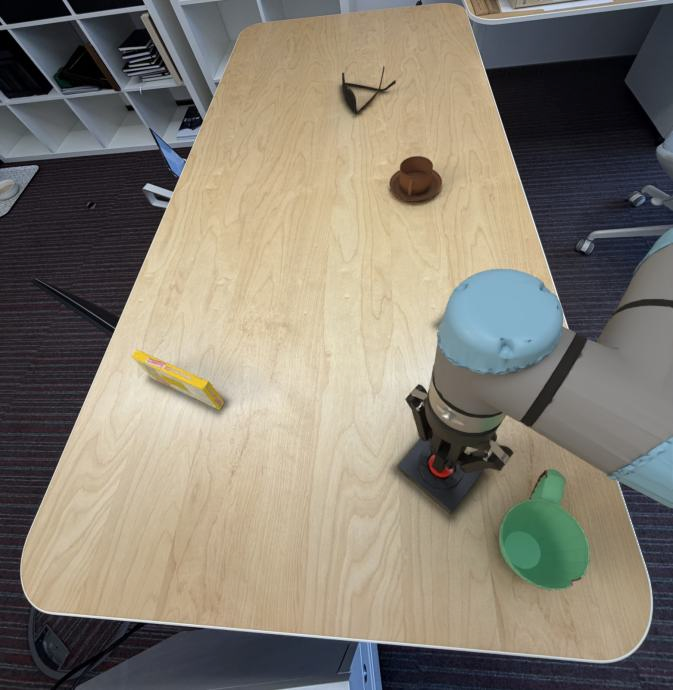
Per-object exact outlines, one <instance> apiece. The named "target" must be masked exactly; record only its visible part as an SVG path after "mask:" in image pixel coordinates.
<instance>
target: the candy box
mask: <svg viewBox="0 0 673 690" xmlns="http://www.w3.org/2000/svg"><path fill="white" fill-rule="evenodd" d="M130 358H131V359H132V360H134V362H135V363H136V364H137V365H139V367H140V368H142V370H143V371H144V372H146V374H148V376H149V377H150V378H151V379H152V380H155V381H157V382H159V383H161V384H163V385H165V386H167V387H170V388H171V389H174V390H175V391H177V392H180V393H182V394H183V395H186V396H188V397H190V398H193V399H195V400H197V401H199V402H201V403H203V404H205V405H208V406H210V407H212V408H214V409H216V410H219V411H220V410H221V409H222V407H223V406H224V405H225V400H224V399H223V397H222V396H221V395H220V394H219V392H218V391H217V389H216V388H215V387H214V386H213V384H212V383H211V382H210V381H209V380H207V379H204V378H202V377H200V376H198V375H195V374H194V373H191V372H188V371H187V370H184V369H182V368H179V367H178V366H176V365H173V364H170V363H168V362H166V361H164V360H161V359H159V358H157V357H155V356H152V355H150V354H148V353H146V352H144V351H141V350H139V349H136V350H135V351H134V352H133V353H132V354H131V355H130Z"/></svg>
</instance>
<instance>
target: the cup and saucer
mask: <svg viewBox="0 0 673 690" xmlns="http://www.w3.org/2000/svg"><path fill="white" fill-rule="evenodd" d="M442 184H443V180H442V177H441V175H440V174H439V173H438V171H436V170H434V164H433V161H431V160H430V159H429V158H428V157H425V156H421V155H414V156H409V157H406V158H405V159H403V160H402V161H401V163H400V165H399V170H397V171H396V172H395V173H393V174H392V176H391V177H390V179H389V188H390V191H391V193H393V195H394V196H395V197H397V198H398V199H401V200H403V201H406V202H413V203H414V202H415V203H416V202H422V201H426V200H429V199H431V198H432V197H434V196H436V195H437V194H438V193H439V192H440V190H441V187H442Z"/></svg>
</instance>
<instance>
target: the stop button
mask: <svg viewBox="0 0 673 690" xmlns="http://www.w3.org/2000/svg"><path fill="white" fill-rule="evenodd" d="M434 458H435V455H432V456H431V458H430V461H429V465H428V467H429V471H430V473H431V474H432V475H433V476H435V477H436V478H439V479H446V478H448V477H450V476H451V474H452V472H453V470H454V468H453V469H451V470H449V469H447V468H446V467H445V468H444V469H443V471H442V472H441V473H439V472H437V471H436V470H435V469H434V468H433V467H432V464H433V461H434Z"/></svg>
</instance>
